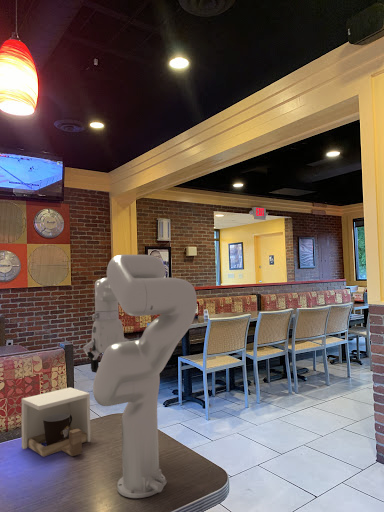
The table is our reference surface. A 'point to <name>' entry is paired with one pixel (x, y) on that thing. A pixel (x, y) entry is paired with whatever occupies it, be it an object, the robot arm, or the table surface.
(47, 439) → the coffee mug
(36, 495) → the table surface
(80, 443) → the wooden drawer
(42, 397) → the cream open box
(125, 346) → the robot arm
